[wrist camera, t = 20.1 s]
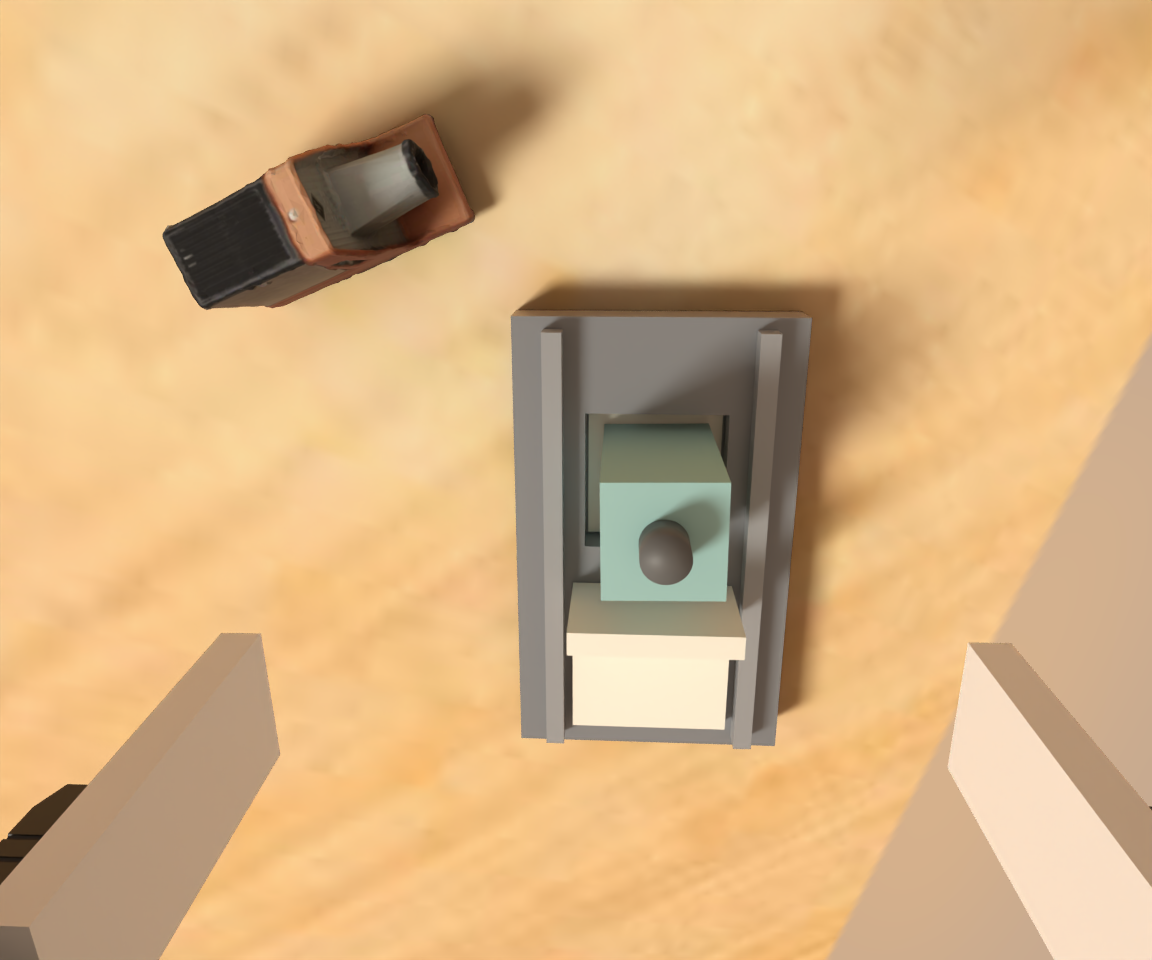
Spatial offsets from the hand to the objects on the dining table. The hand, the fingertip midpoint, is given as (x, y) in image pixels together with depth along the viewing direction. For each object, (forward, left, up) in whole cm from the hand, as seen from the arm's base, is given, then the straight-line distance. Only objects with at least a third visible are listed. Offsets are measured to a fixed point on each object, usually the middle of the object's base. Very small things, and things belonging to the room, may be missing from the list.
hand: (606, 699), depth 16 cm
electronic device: (-8, -11, -23) cm, 27 cm away
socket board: (+6, +2, -22) cm, 23 cm away
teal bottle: (+3, +2, -22) cm, 22 cm away
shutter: (+11, +2, -20) cm, 23 cm away
